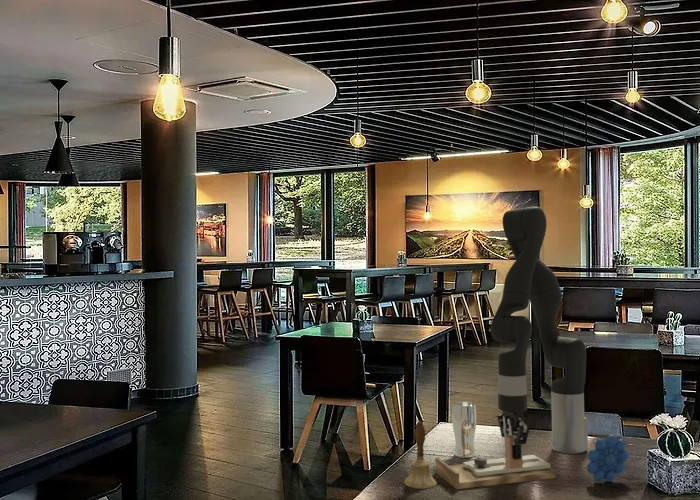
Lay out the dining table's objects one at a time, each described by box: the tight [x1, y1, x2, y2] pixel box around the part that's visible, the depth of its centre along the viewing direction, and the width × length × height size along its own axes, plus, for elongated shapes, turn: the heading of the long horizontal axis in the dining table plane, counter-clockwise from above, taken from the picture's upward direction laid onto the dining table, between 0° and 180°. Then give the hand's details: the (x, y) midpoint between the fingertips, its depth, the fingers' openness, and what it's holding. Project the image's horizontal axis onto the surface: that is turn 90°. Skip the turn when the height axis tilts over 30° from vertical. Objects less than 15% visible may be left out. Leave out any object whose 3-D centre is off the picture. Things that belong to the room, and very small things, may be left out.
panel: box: [462, 435, 552, 476], centre depth 188 cm, size 21×9×9 cm, turn 105°
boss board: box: [434, 457, 557, 490], centre depth 187 cm, size 28×14×4 cm, turn 105°
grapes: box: [586, 434, 630, 483], centre depth 181 cm, size 12×7×12 cm, turn 101°
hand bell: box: [403, 420, 437, 490], centre depth 181 cm, size 8×8×16 cm
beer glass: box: [451, 400, 477, 459], centre depth 205 cm, size 7×7×15 cm
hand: (513, 457), depth 185 cm, fingers closed on panel, 2 cm apart
